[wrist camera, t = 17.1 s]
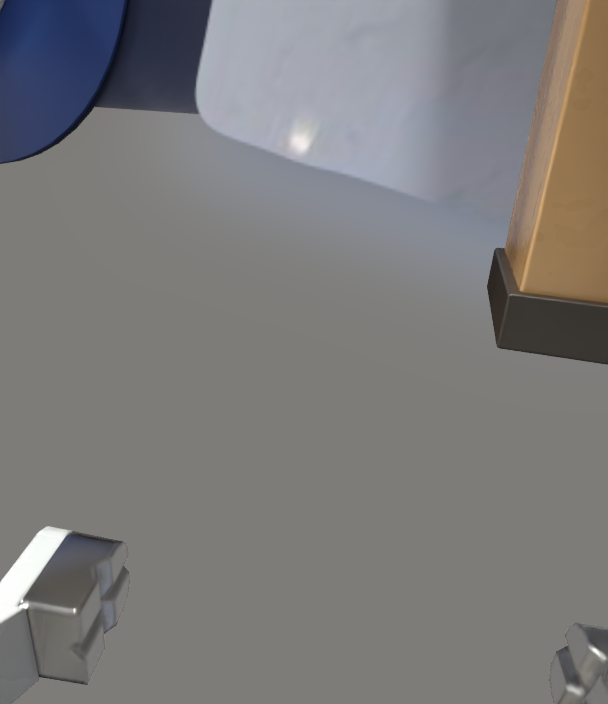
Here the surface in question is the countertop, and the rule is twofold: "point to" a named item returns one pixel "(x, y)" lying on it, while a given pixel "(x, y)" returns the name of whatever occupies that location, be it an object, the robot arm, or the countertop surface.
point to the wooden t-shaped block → (561, 203)
